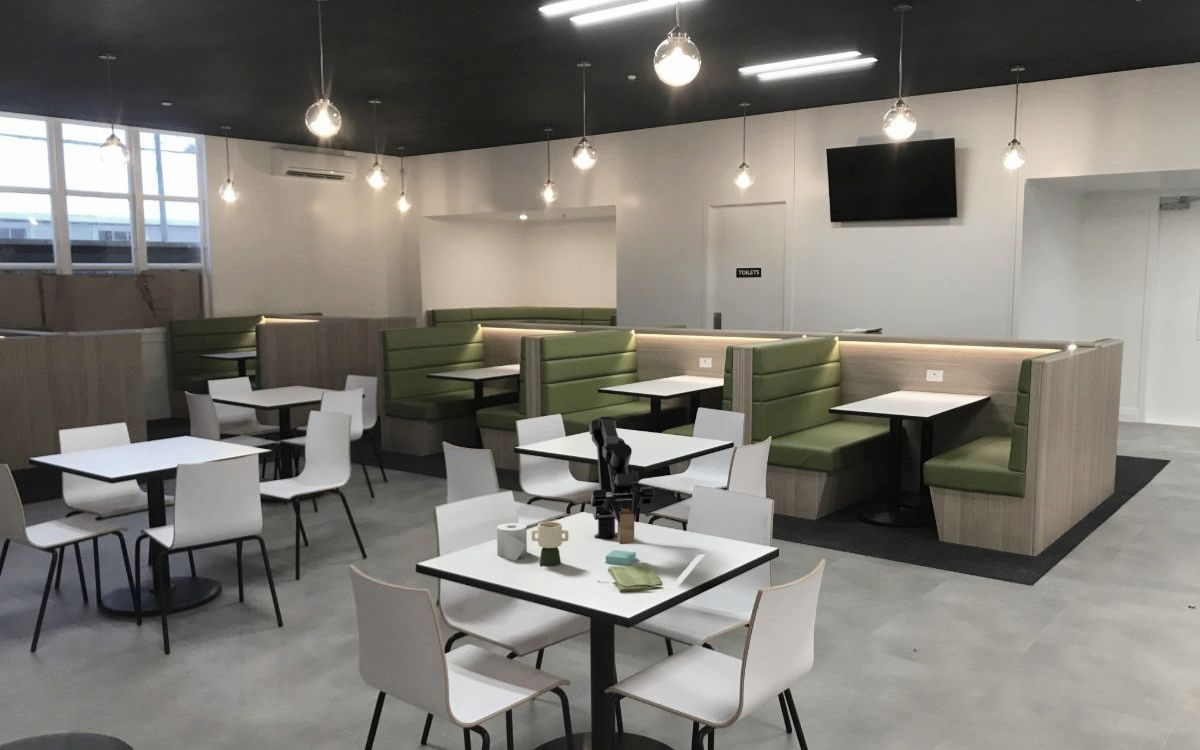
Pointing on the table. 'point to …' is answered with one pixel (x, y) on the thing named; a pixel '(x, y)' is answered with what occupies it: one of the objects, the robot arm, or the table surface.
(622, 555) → the teal slab
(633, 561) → the slate slab
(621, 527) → the walnut pillar
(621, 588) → the washcloth
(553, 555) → the character mug
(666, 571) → the table surface
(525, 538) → the toilet tissue
